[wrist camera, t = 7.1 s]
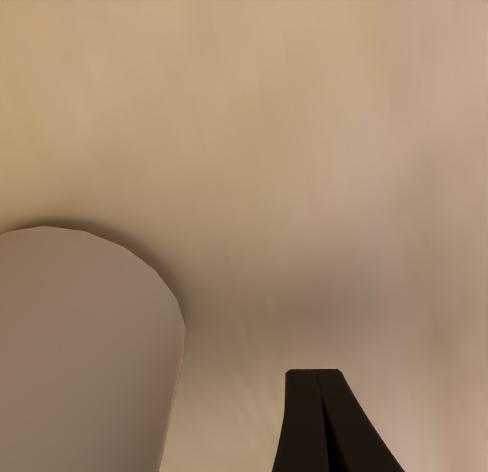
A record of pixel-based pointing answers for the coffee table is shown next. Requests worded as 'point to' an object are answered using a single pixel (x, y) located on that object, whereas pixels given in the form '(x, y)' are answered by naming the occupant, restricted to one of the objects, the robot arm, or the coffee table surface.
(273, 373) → the coffee table surface
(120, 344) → the can
